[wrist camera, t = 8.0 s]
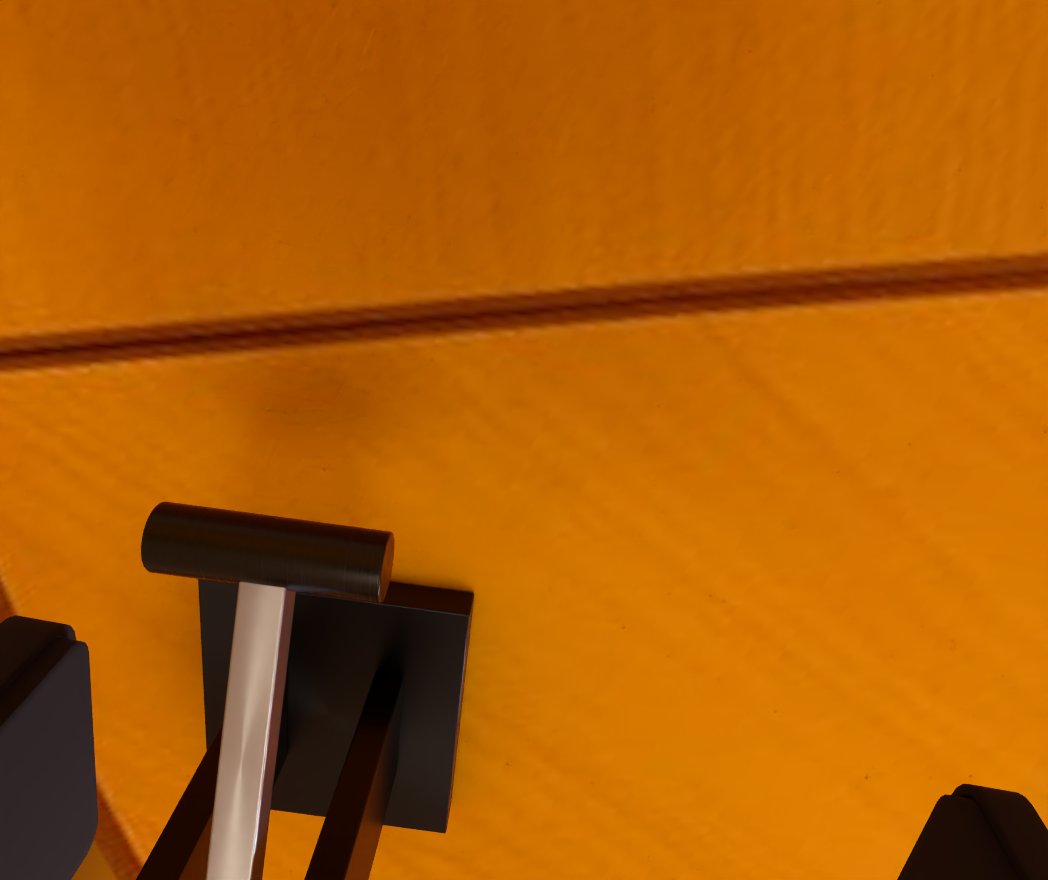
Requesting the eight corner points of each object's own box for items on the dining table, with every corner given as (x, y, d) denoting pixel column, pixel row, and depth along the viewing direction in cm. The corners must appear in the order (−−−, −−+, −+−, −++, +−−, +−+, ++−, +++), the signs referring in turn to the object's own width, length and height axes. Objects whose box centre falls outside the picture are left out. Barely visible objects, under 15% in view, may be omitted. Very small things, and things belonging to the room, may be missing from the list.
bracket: (213, 557, 28) (-44, 896, 17) (474, 592, 28) (401, 956, 17) (222, 775, 32) (20, 1170, 21) (450, 806, 32) (377, 1221, 21)
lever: (182, 495, 21) (136, 509, 18) (400, 524, 21) (382, 541, 18) (127, 998, 22) (76, 1073, 19) (337, 1026, 21) (312, 1106, 19)
